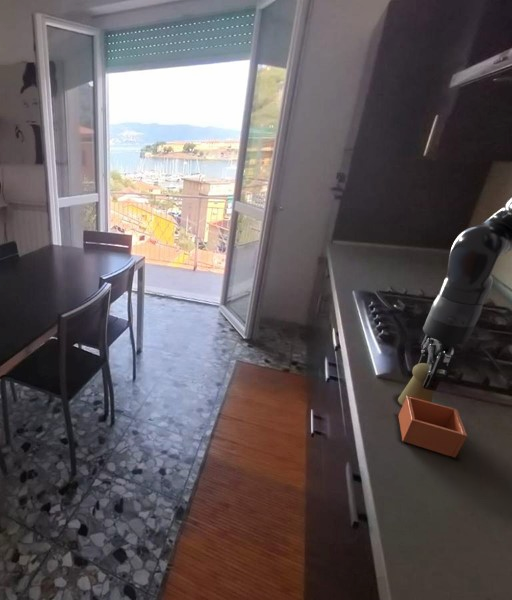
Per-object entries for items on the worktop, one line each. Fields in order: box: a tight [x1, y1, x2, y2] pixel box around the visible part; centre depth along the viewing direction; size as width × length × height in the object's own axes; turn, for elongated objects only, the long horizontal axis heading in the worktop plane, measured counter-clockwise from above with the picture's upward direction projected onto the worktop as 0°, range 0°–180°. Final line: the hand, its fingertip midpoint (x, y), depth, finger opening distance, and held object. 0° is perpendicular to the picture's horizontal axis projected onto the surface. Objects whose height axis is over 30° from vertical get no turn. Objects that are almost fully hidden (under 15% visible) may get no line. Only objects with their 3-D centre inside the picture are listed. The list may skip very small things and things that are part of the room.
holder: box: [397, 396, 468, 459], centre depth 76 cm, size 9×9×6 cm
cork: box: [397, 363, 441, 407], centre depth 83 cm, size 6×6×11 cm
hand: (425, 378), depth 82 cm, fingers open, 8 cm apart
